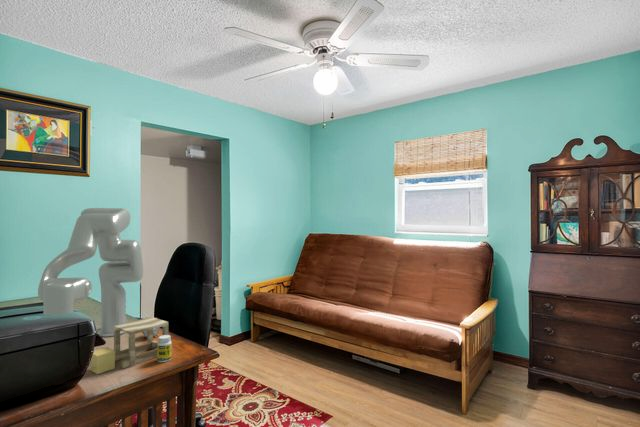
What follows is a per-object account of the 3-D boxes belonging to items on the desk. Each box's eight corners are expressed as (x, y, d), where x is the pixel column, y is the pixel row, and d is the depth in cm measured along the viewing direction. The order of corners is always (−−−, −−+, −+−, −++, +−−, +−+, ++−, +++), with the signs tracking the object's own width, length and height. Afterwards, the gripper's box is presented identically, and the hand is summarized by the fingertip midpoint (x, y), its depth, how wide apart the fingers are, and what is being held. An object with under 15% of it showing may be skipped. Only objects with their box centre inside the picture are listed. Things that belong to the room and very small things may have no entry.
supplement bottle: (156, 363, 122) (156, 339, 122) (157, 358, 126) (157, 335, 126) (171, 361, 124) (171, 337, 124) (171, 356, 128) (171, 333, 128)
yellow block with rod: (49, 383, 107) (49, 360, 107) (107, 364, 121) (107, 344, 121) (56, 388, 104) (56, 365, 104) (114, 368, 118) (114, 347, 118)
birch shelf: (108, 360, 124) (108, 327, 124) (151, 346, 137) (151, 316, 138) (124, 369, 117) (124, 333, 118) (168, 353, 131) (168, 321, 131)
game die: (145, 346, 148) (131, 328, 148) (161, 333, 155) (147, 316, 155) (153, 340, 143) (138, 321, 142) (170, 327, 150) (155, 309, 150)
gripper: (34, 321, 109) (34, 379, 108) (54, 331, 99) (54, 394, 99) (62, 315, 115) (62, 370, 115) (83, 324, 105) (83, 384, 105)
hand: (58, 381), depth 107 cm, fingers closed on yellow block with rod, 3 cm apart
